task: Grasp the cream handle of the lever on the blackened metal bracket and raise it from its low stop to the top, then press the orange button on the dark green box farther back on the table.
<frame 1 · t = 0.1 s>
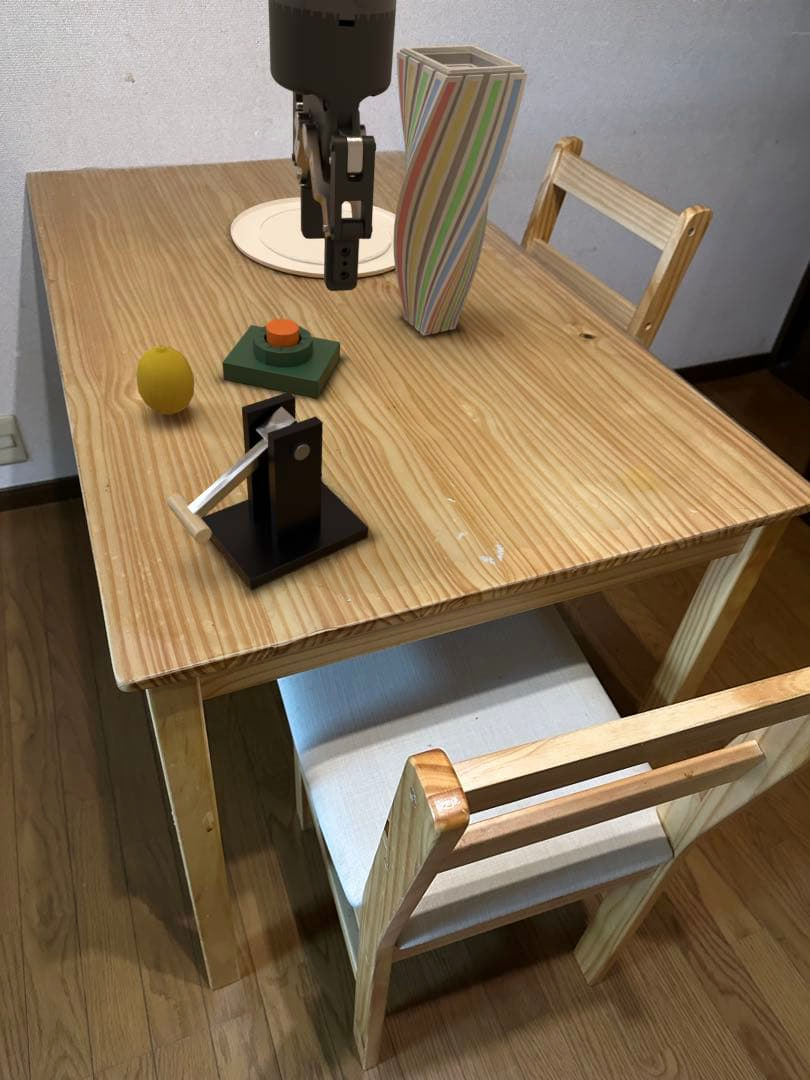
hand: (327, 261, 56), 24 cm above the table, tool pointing down, fingers open, 8 cm apart
bracket: (285, 532, 69), on the table
vase: (429, 324, 99), on the table
lemon: (170, 415, 80), on the table
lever: (239, 472, 61), point 9 cm above the table, hinge at -30.0°
button box: (283, 368, 88), on the table
button: (282, 333, 85), point 4 cm above the table, slide at 0.1 cm
plate: (325, 238, 116), on the table
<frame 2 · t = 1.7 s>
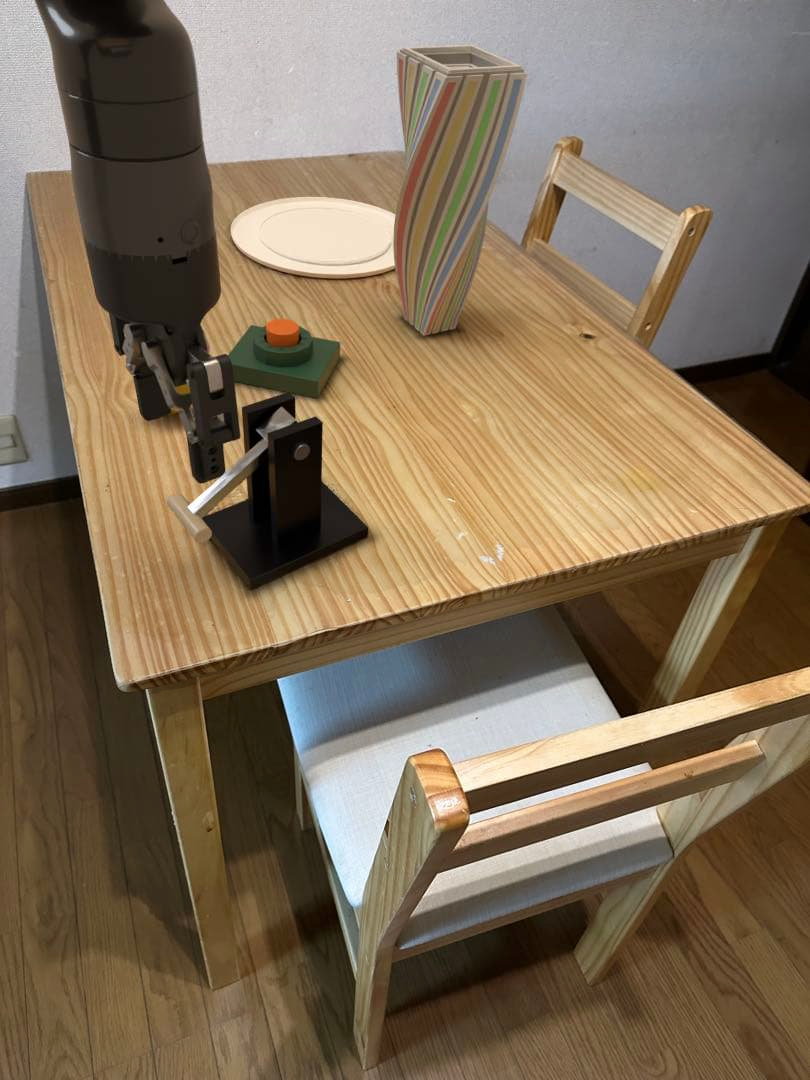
hand: (182, 445, 56), 13 cm above the table, tool pointing down, fingers open, 8 cm apart
nothing on the table moved.
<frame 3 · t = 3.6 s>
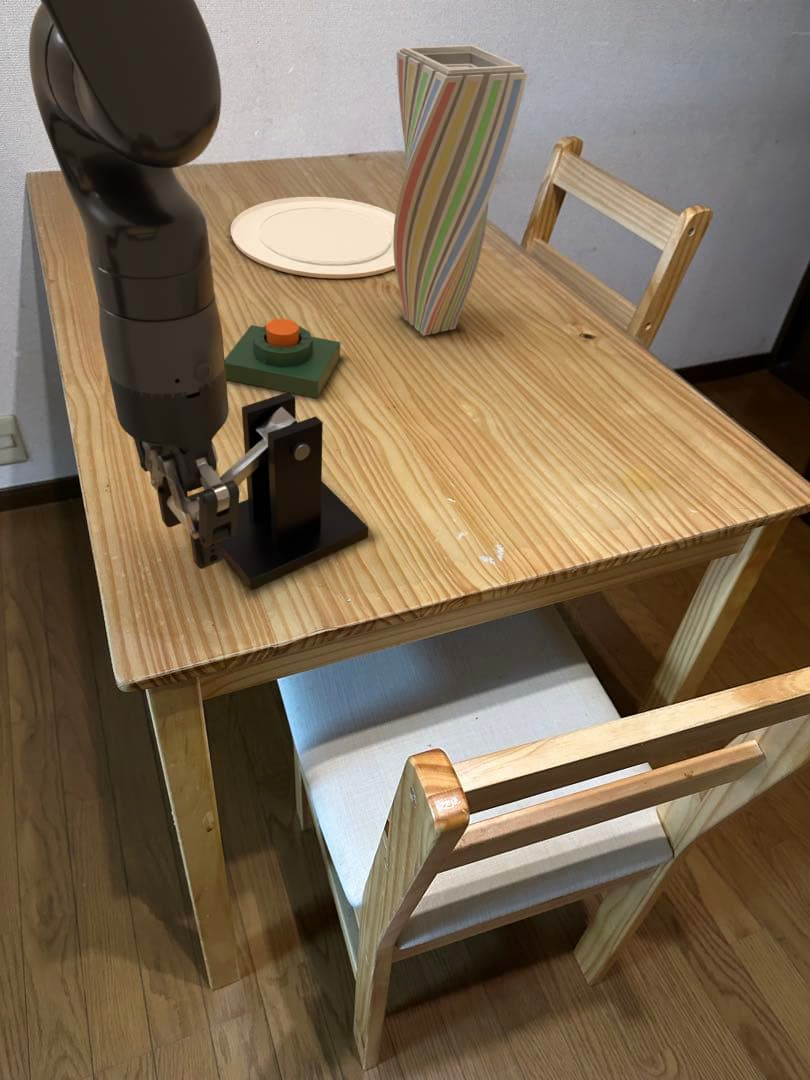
hand: (192, 541, 62), 3 cm above the table, tool pointing down, fingers closed on lever, 5 cm apart
lever: (239, 472, 61), point 9 cm above the table, hinge at -30.0°, touching gripper
everything else where it was.
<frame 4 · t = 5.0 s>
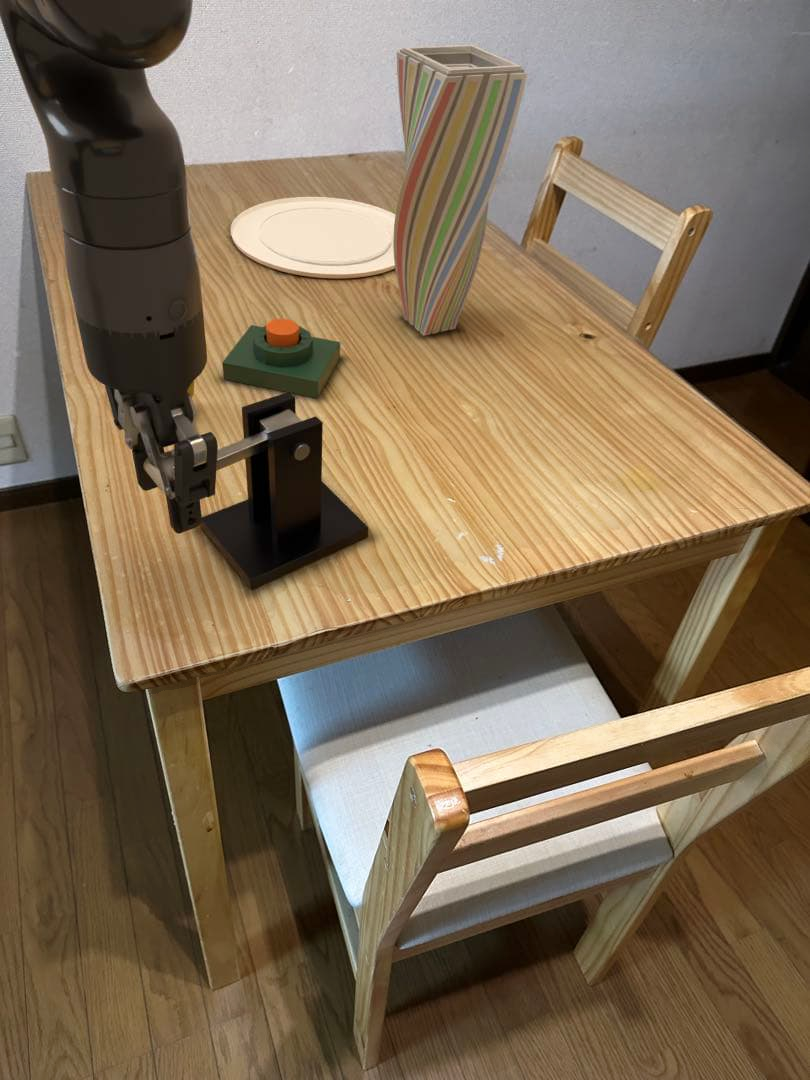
hand: (170, 505, 59), 8 cm above the table, tool pointing down, fingers closed on lever, 5 cm apart
lever: (230, 454, 59), point 11 cm above the table, hinge at -3.8°, touching gripper
everything else where it was.
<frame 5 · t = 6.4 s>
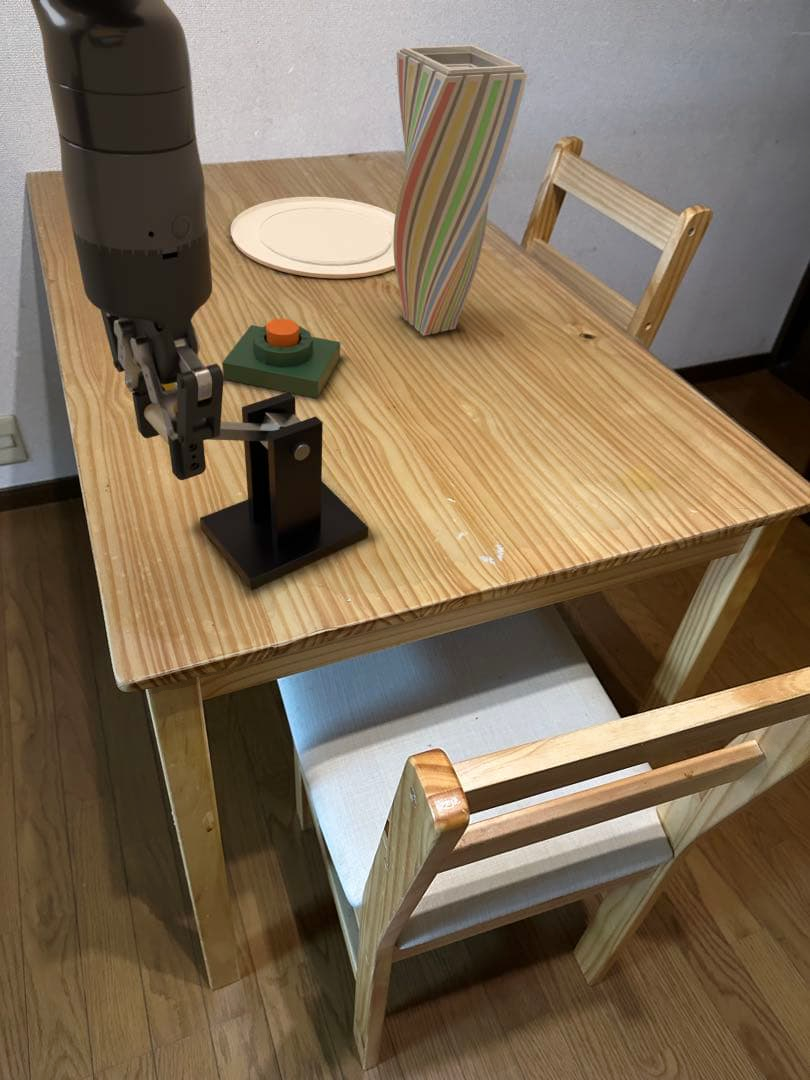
hand: (172, 452, 56), 13 cm above the table, tool pointing down, fingers closed on lever, 5 cm apart
lever: (232, 431, 58), point 13 cm above the table, hinge at 22.5°, touching gripper
everything else where it was.
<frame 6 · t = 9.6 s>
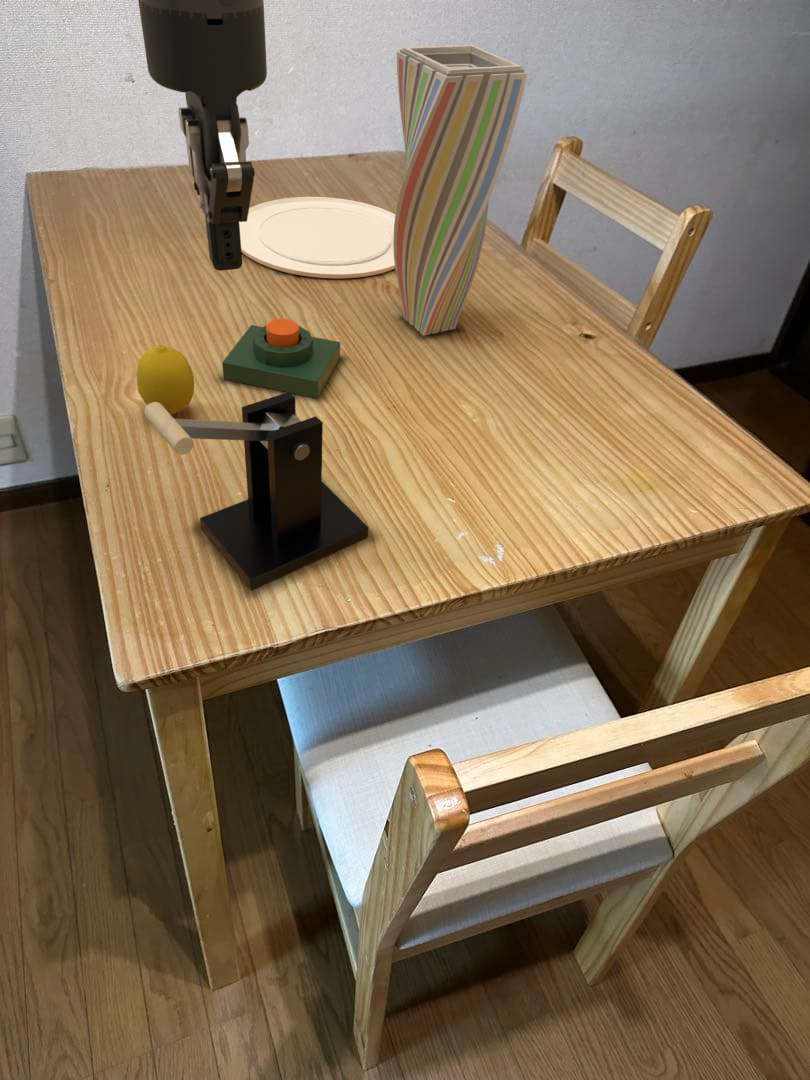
hand: (226, 265, 59), 21 cm above the table, tool pointing down, fingers closed
lever: (232, 430, 58), point 13 cm above the table, hinge at 22.9°
everything else where it was.
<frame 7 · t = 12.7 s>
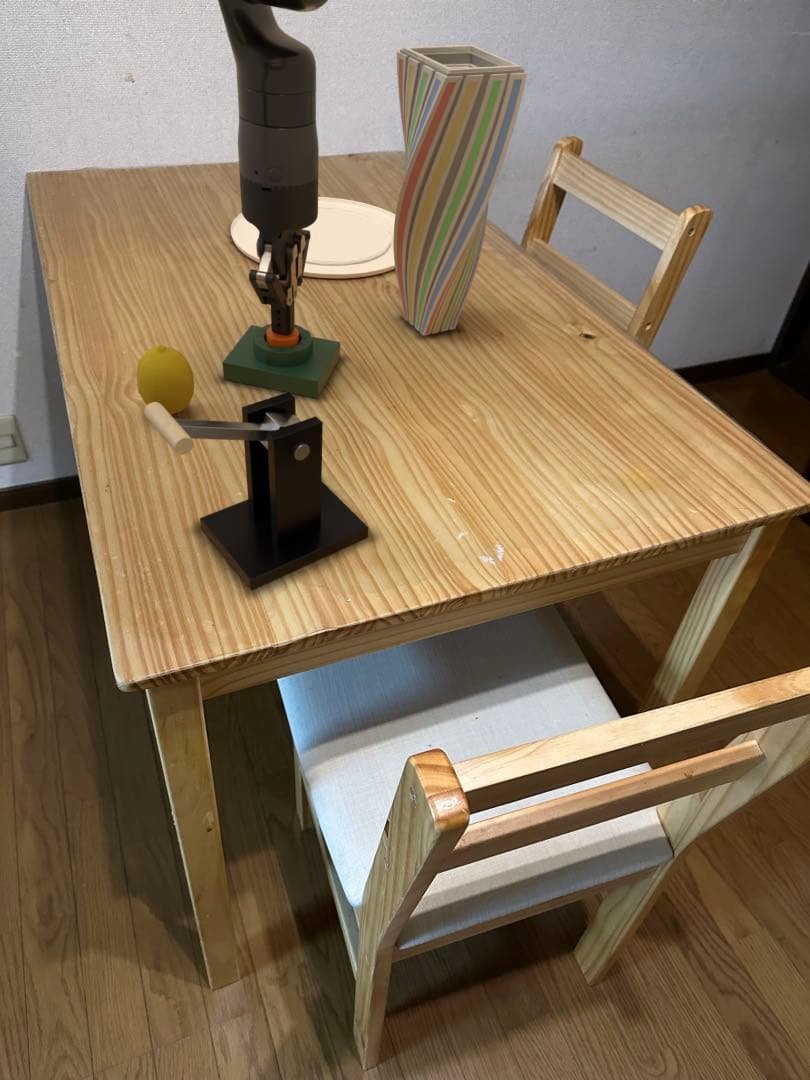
hand: (283, 331, 85), 5 cm above the table, tool pointing down, fingers closed
button: (282, 338, 86), point 4 cm above the table, slide at -0.6 cm, touching gripper
everything else where it was.
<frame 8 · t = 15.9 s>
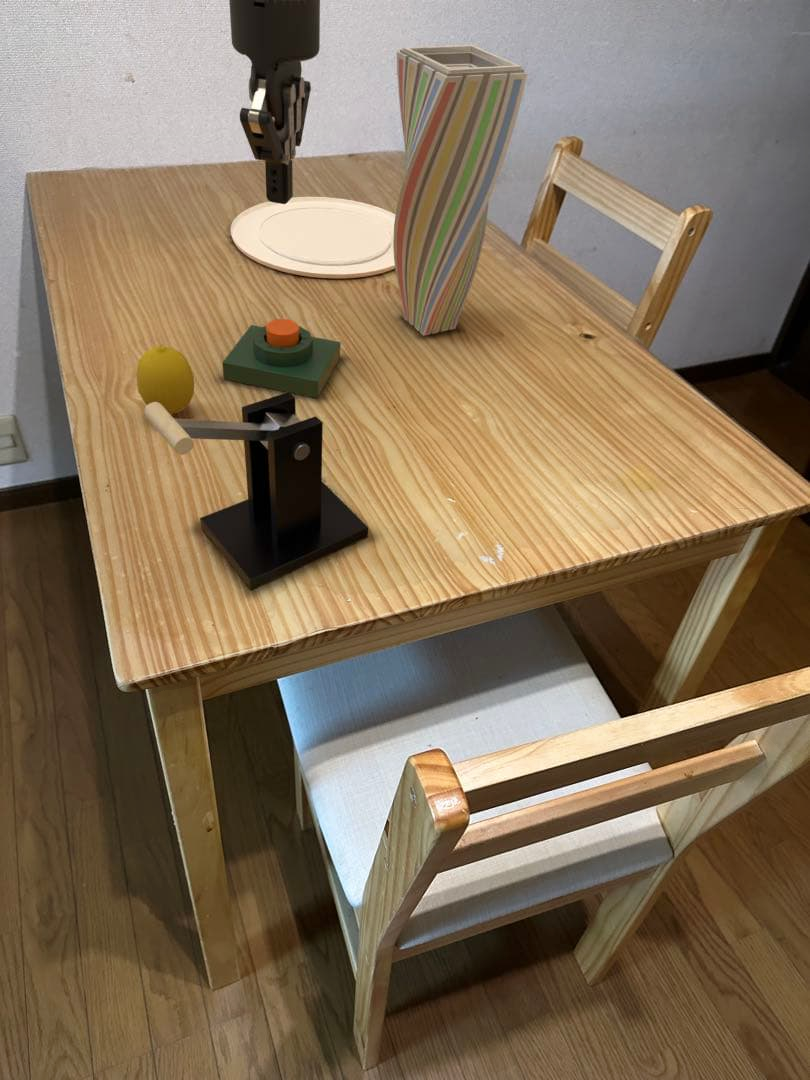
hand: (279, 200, 75), 19 cm above the table, tool pointing down, fingers closed
button: (282, 333, 85), point 4 cm above the table, slide at 0.1 cm
everything else where it was.
at the end: lever at +23° (first picture: -30°); button pushed in 1.0 cm at the most during the clip, back to where it started at the end; button slide at 0.1 cm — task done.
